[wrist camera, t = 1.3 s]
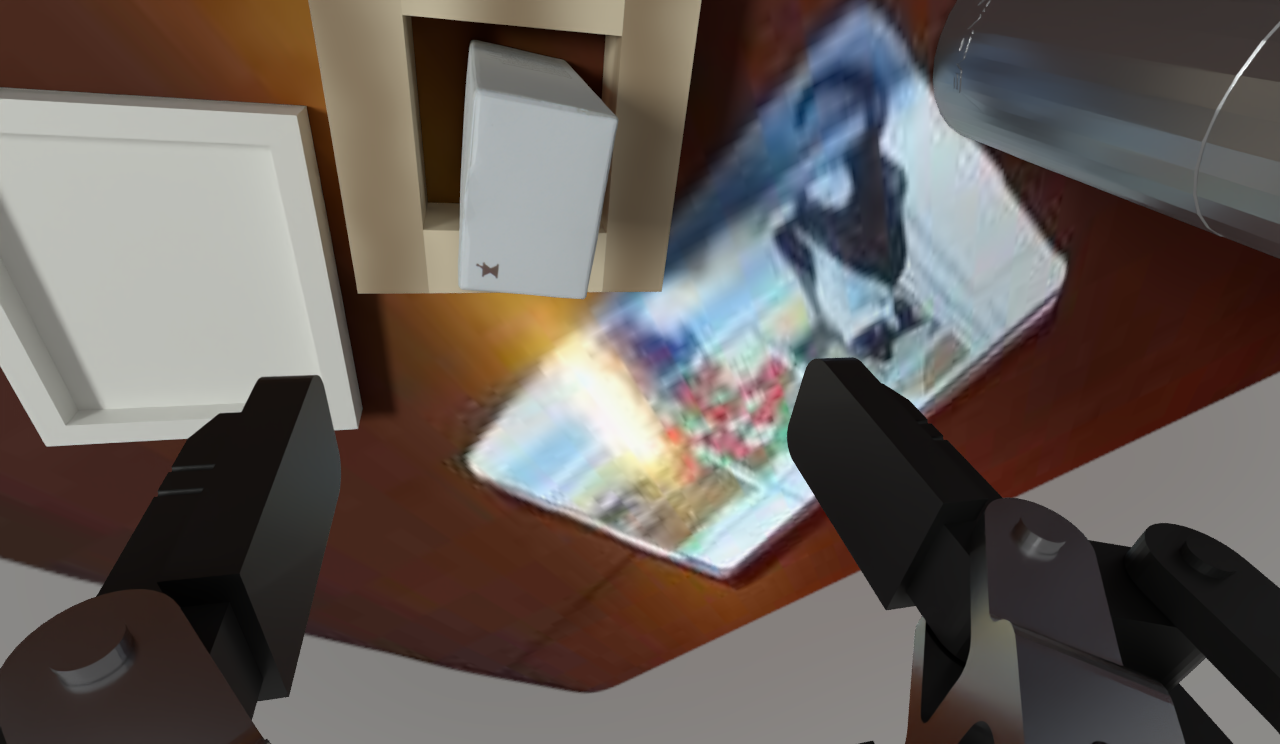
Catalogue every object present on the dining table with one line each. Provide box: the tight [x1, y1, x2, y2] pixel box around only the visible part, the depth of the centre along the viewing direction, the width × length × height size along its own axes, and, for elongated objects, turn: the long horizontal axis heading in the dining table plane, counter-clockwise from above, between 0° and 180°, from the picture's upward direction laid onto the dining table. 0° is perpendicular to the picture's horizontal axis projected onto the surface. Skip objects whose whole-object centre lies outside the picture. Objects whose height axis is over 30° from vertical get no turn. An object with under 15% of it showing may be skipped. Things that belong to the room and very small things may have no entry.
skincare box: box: [458, 40, 619, 299], centre depth 23 cm, size 6×4×12 cm
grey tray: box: [0, 87, 363, 446], centre depth 28 cm, size 14×16×2 cm
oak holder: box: [308, 0, 701, 294], centre depth 26 cm, size 14×14×4 cm
